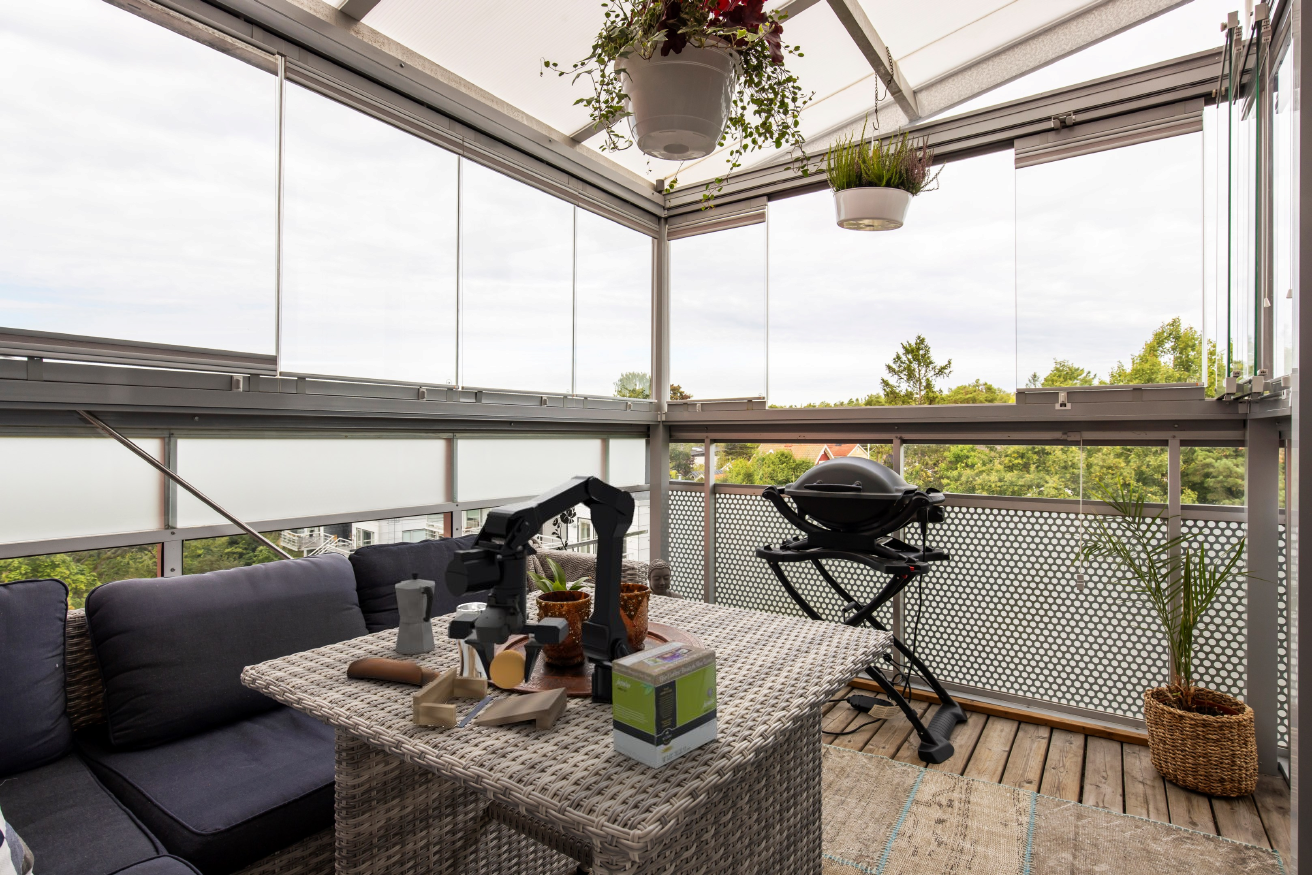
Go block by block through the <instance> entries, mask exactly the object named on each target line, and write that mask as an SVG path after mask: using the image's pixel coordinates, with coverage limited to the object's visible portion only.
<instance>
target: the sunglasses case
mask: <svg viewBox="0 0 1312 875" xmlns="http://www.w3.org/2000/svg"><path fill="white" fill-rule="evenodd" d="M442 674H443V673H440V672H439V671H437V670H435V669H432V668H428V667H425V666H421V665H419V664H417V663H415V662H414V661H412V660H403V659H392V658H385V657H366V658H360V659H355V660H354V661H352V662H350V664H349V665H348V667H347V670H346V677H347V678H348V677H350V678H355V679H364V678H366V679H373V678H374V679H377V680H384V681H393V682H397V683H405V684H413V685H418V686H421V687H422V688H424V687H426V686H427V685H429V684H430V683H431V682H433V681H434V680H435V679H437V678H438V677H440V676H441V675H442Z"/></svg>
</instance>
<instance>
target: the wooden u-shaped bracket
mask: <svg viewBox="0 0 1312 875" xmlns="http://www.w3.org/2000/svg"><path fill="white" fill-rule="evenodd" d="M441 674H442V675H440V676H439V677H438V678H436V679H434V680H433V681H431V682H430V683H428V684H427V685H425V686H424V687H422V689H421V690H419V691H418V692H417V693H415V694H414V695H413V696H412V725H413V724H420V725H431V726H430V727H432V725H433V726H444V727H443V728H445V727H454V726H455V725H457V727H456V726H455V727H456V728H463V727H465V726H466V724H467V723H469V721H471V719H473V717H475V716H476V715H477V714H478V713H479V712H480V711H481V710H482V709H483V708H484V707H485V706H486V705H487V704H488V703H489V702H490V701H491V700H492V699H493V698H494V697H493V696H491V697H490V696H488V680H487V678H479V677H464V676H458V668H457V667H450V668H449V669H447V670H446V671H445V672H444V673H441ZM454 697H456V698H458V697H459V698H469V697H470V698H471V699H483V700H482V701H481V702H479V704H478V705H477V706H475V708H473V709H472V710H471V712H469V713H468V714H467V715H466V716H465V717H464V718H463V719H462V720H460V722H459V723H460V724H459V723H457V704H447V703H448V702H449V701H451V700H452V699H453V698H454ZM446 702H447V703H446ZM445 703H446V704H445ZM458 725H459V726H458ZM455 727H454V728H455Z"/></svg>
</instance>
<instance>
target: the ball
mask: <svg viewBox="0 0 1312 875" xmlns="http://www.w3.org/2000/svg"><path fill="white" fill-rule="evenodd" d="M524 671H525V656H524V655H522V653H520V652H519V651H517V650H513V649H506V650H503V651H500V652H499V653H498V654H496V655H494V659H493V660H492V662H491V665H490V676H491V679H492V680H491V681H492V682H493V683H494V684H495V686H497V687H499V688H501V689H504V690H507V689H509V690H510V689H513V688H516V687H517V686H519V685H521V683H523V681H525V679H524Z"/></svg>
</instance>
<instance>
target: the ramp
mask: <svg viewBox="0 0 1312 875" xmlns="http://www.w3.org/2000/svg"><path fill="white" fill-rule="evenodd" d="M567 707H568V691H567V688H566V686H565V687H559V688H554V689H549V690H544V691H539V692H533V693H528V694H523V695H519V696H518V695H517V696H513V697H506V698H502V699H496V700H495V701H493V702H492V704H490V706H489V707H487V709H485V711H484V712H482V713H481V714H480V715H479V716H478V717H477V718H476V719H475V720H474V721H473V725H478V726H479V725H480V726H489V727H490V726H491V727H492V726H493V727H496V726H500V725H501V726H502V725H506V724H512V723H518V722H523V721H527V720H533V719H535V721H536V722H535V723H536V724H535V729H536V730H545V731H547V730H548V731H550V730H551V729H552V727H554V724H555V723H556V722H557V720H559V718H560V717H561V715H562V714H563V713H564V711H565V710H566V708H567Z"/></svg>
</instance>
